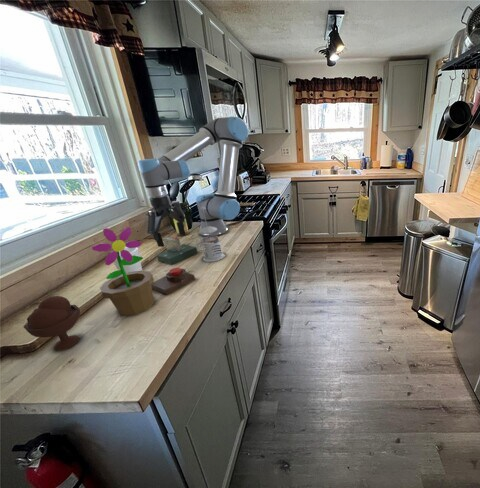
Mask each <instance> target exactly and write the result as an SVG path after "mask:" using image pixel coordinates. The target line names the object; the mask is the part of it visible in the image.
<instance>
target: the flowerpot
mask: <svg viewBox="0 0 480 488" xmlns="http://www.w3.org/2000/svg"><path fill="white" fill-rule="evenodd" d="M102 231H103V236H104V237H105V239H106V240H107V241H109V242H112V243H111V244H110V243H108V242H101V243H97V244H95V245H93V246H92V247H91V249H92V251H96V252H98V253H99V252H101V253H102V252H108V251H110V250H111V251H112V252H111V251H110V252H108V254H107V255H106V256H105V259H104V263H105V265H106V266H111V265H112V264H114V263H113V262H114V261H115V260H116V258H117V261H118V264H119V267H120V269H121V270H118V269H117V270H114V271H111V272H110V273H109V274H108V275H107V276H106V277H105V278H106V281H104V283H102V285H101V286H100V287H99V289H100V292H101V294H102V297H103V298H104V299H109V300H110V301H111V303H112V304H113V306H114V307H115V309H116V310H117V312H118V314H119V315H120V316H124V317H128V316H134V315H138V314H140V313H142V312H145V311H147V310H148V309H150V308H151V307H152V306H153V304H154V303H155V299H154V293H153V289H152V287H151V284H152V282H154V281H155V278H154V276H153V274H152V273H151V272H150V271H149V270H142V271H133V272H128V273H125V270H124V267H123V265H132V264H135V263H137V262H139V261H140V260H143V256H140V257H139V256H135V255H134V256H132V255H131V254H130V252H129V251H127V250H124V248H125V247H128V248H137V247H138V248H139V247H140V246H142V241H139V240H135V239H134V240H128V239H129V238H130V236H131V235H132V228H131V227H129V226H127V227H125V228H123V229H122V230H121V232H120V233H119V239H118V238H117V235H116V233H115V232H114V231H113V230H111V229H109V228H108V227H105V228H103V230H102ZM126 240H128V241H127V242H126ZM119 251H120V254H119ZM120 255H121V257H122V258H123V259H122V260H121V258H120Z"/></svg>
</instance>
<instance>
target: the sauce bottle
mask: <svg viewBox="0 0 480 488" xmlns="http://www.w3.org/2000/svg"><path fill="white" fill-rule="evenodd" d="M171 203H176V205H177V207H178V209H179V210H180V211H181V213H182V214H183V215H184V216H185V219H184V220H185V221H184V222H183V225H184V230H185V234H186V235H188V234H189V228H188V223H187V218H186V215H185V212H184V211H183V210H182V208H181V202H180V201H179V200H173V201H171ZM172 211H173V210H172ZM173 212H174V211H173ZM174 213H175V212H174ZM172 220H173V223H174V228H175V232H176V234H177V236H179V237H182V236H184V235H180V233H179V230H178V227H177V222H178V221H176V220H175V219H174V218H172ZM186 235H185V236H186Z"/></svg>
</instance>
